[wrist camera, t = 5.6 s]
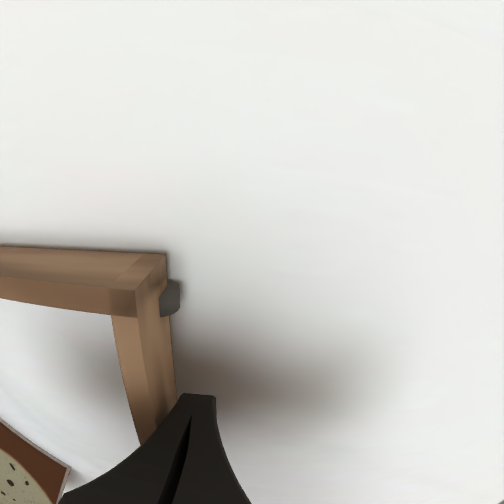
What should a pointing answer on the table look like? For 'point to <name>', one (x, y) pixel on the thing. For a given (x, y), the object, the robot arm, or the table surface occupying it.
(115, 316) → the wooden u-shaped frame
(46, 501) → the food container
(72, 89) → the table surface
